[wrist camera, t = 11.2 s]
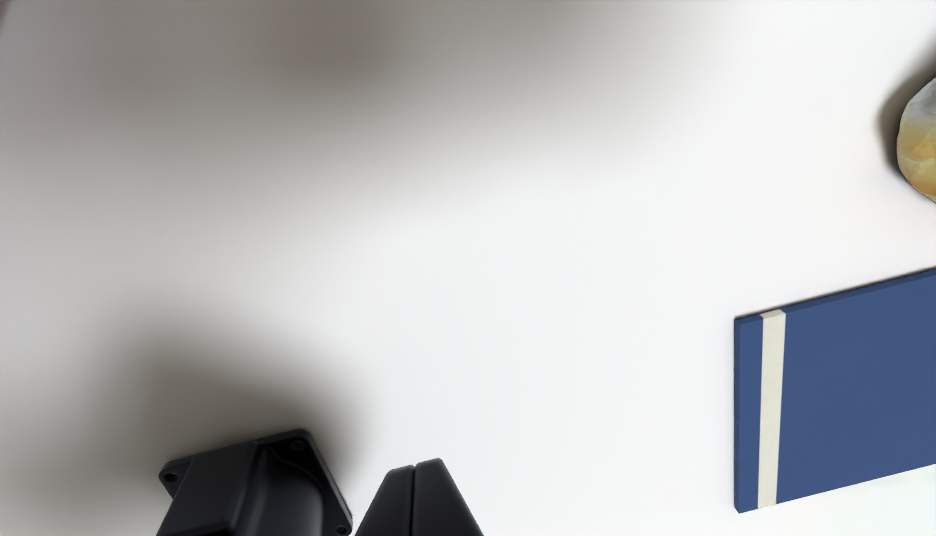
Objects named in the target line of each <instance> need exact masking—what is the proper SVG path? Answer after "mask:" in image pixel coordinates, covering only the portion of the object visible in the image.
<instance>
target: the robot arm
mask: <svg viewBox="0 0 936 536" xmlns="http://www.w3.org/2000/svg"><path fill="white" fill-rule="evenodd" d="M295 441H302V443H298V442H295ZM172 473H174V474H172ZM159 479H160V481H161V483H162V484H163V485H164V487H165V488H166V490H167V491H168V493H169V494H170V495H171V497H172V498H173V501H172V503H171V505H170V507H169V509H168V512H167V514H166V516H165V518H164V520H163V522H162V524H161V526H160V528H159V530H158V532H157V534H156V536H349V535H350V534H351V532H352V527H353V521H352V518H351V516H350V514H349V512H348V510H347V508H346V506H345V504H344V502H343V500H342V498H341V496H340V494H339V492H338V490H337V488H336V486H335V484H334V481H333V479H332V477H331V475H330V473H329V471H328V469H327V467H326V465H325V463H324V461H323V459H322V457H321V455H320V453H319V451H318V449H317V447H316V445H315V442H314V440H313V438H312V436H311V435H310V433H309V432H307V431H305V430H301V429H298V430H293V431H289V432H285V433H281V434H277V435H273V436H269V437H265V438H261V439H257V440H253V441H249V442H245V443H241V444H238V445H234V446H230V447H226V448H222V449H218V450H214V451H210V452H206V453H202V454H198V455H194V456H190V457H186V458H183V459H179V460H175V461H171V462H168V463H166V464H165V465H164V466H163V468H162V469H161V471H160V473H159ZM341 526H343V527H341ZM355 536H484V535H483V533H482V532H481V530H480V528H479V526H478V524H477V523H476V521H475V519H474V517H473V515H472V513H471V512H470V510H469V508H468V506H467V504H466V503H465V501H464V499H463V497H462V495H461V493H460V492H459V490H458V488H457V486H456V484H455V483H454V481H453V479H452V477H451V475H450V473H449V472H448V470H447V468H446V466H445V464H444V463H443V461H442V460H441V459H440V458H436V459H432V460H428V461H424V462H420V463H418V464H417V465H416V467H415V466H413V465H408V466H404V467H400V468H396V469H392V470H390V471H389V472H388V473H387V474H386V476H385V478H384V480H383V482H382V483H381V485H380V487H379V489H378V491H377V493H376V495H375V497H374V499H373V501H372V503H371V505H370V507H369V509H368V511H367V512H366V514H365V516H364V518H363V520H362V522H361V524H360V526H359V528H358V530H357V532H356V534H355Z"/></svg>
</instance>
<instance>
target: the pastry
mask: <svg viewBox="0 0 936 536" xmlns="http://www.w3.org/2000/svg"><path fill="white" fill-rule="evenodd" d="M897 159H898V164H899V169H900V170H901V172H902V174H903V175H904V176H905V178H906V179H907V180H908V181H909V182H910V184H911V185H912V186H913V187H914V189H916V190H917V191H919V192H921V193H922V194H924V195H925V196H926V197H928V198H929V199H931V200H932V201H933V202H935V203H936V78H934V79H933V80H932V81H930V82H929V83H928V84H927V85H926V86H924V87H923V88H922V89H921V90H920V91H919V92H918V93H917V94H916V95H915V96H914V97H913V98H912V99H911V100H910V101H909V102H908V104H907V105H906V107H905V110H904V112H903V114H902V118H901V123H900V130H899V134H898V137H897Z"/></svg>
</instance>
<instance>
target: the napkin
mask: <svg viewBox="0 0 936 536" xmlns="http://www.w3.org/2000/svg"><path fill="white" fill-rule="evenodd" d="M932 464H936V269H934V270H930V271H926V272H922V273H918V274H914V275H910V276H907V277H903V278H899V279H895V280H891V281H887V282H883V283H879V284H875V285H871V286H867V287H863V288H859V289H855V290H852V291H848V292H844V293H840V294H836V295H832V296H828V297H824V298H820V299H816V300H812V301H808V302H804V303H800V304H797V305H793V306H789V307H785V308H781V309H777V310H773V311H769V312H765V313H761V314H757V315H753V316H749V317H745V318H742V319H738V320H735V508H736V510H737V511H738V513H743V512H747V511H751V510H755V509H760V508H764V507H768V506H772V505H775V504H779V503H783V502H786V501H790V500H794V499H798V498H802V497H806V496H810V495H814V494H818V493H822V492H826V491H830V490H834V489H838V488H842V487H846V486H850V485H854V484H858V483H861V482H865V481H869V480H873V479H877V478H881V477H885V476H889V475H893V474H897V473H901V472H905V471H909V470H913V469H917V468H921V467H925V466H929V465H932Z"/></svg>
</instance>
